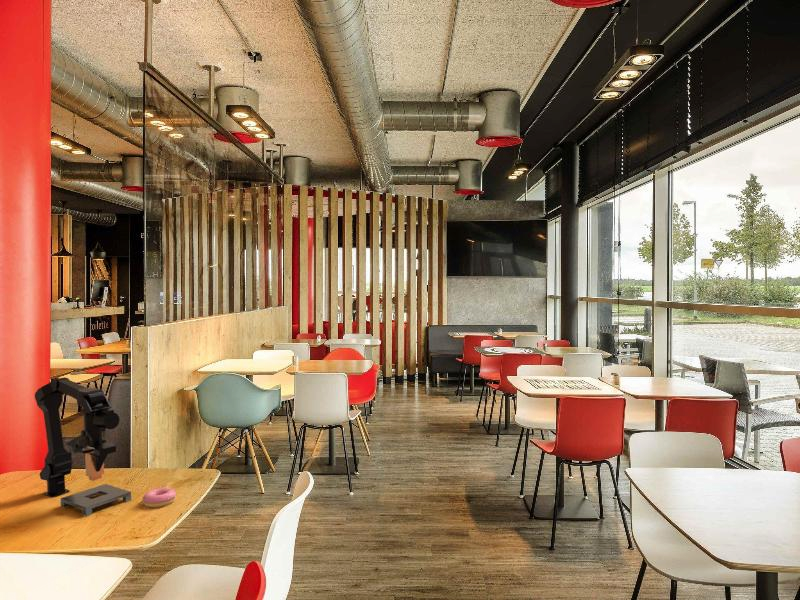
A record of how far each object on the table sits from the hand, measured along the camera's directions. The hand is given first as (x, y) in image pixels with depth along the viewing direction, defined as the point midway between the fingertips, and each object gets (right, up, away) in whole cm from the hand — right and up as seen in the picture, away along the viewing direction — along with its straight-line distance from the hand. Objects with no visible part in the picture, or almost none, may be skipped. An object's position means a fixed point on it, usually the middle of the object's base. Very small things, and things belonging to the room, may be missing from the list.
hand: (95, 470), depth 198 cm
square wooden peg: (0, -3, 0) cm, 3 cm away
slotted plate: (0, -12, 0) cm, 12 cm away
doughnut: (+23, -12, 0) cm, 25 cm away
